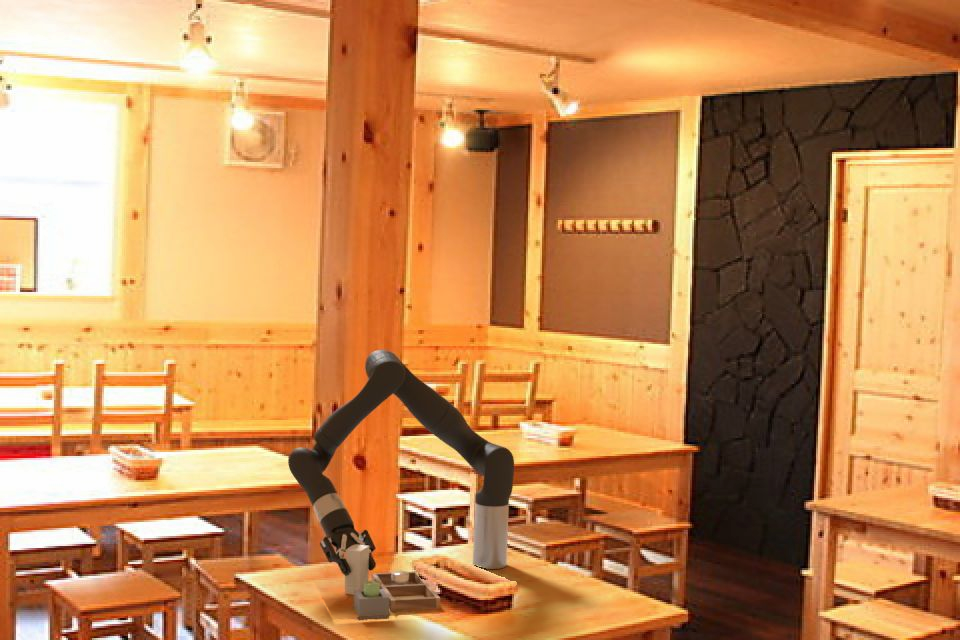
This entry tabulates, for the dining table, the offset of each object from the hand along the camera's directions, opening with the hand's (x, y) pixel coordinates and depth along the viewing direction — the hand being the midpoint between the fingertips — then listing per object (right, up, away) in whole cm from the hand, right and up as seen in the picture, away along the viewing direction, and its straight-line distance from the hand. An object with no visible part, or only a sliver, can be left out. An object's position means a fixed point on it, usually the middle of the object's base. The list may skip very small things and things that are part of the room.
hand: (360, 571), depth 297 cm
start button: (+4, -4, -14) cm, 15 cm away
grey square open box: (+4, -7, -14) cm, 16 cm away
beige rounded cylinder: (+9, -5, +5) cm, 12 cm away
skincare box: (-1, -6, +1) cm, 7 cm away
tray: (+11, -7, -1) cm, 13 cm away
